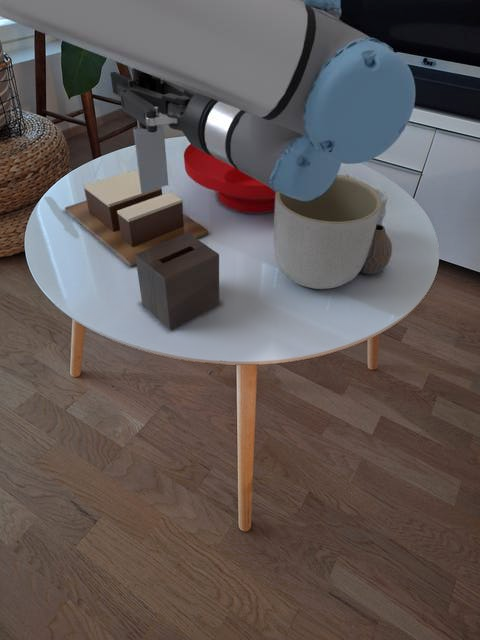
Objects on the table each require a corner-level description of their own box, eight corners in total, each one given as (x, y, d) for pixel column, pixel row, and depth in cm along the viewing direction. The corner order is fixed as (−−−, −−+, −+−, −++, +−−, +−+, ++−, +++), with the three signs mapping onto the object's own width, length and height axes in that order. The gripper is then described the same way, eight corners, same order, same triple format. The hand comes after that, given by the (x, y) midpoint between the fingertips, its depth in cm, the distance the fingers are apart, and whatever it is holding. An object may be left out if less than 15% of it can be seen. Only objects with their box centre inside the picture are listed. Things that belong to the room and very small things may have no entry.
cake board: (208, 234, 93) (207, 229, 93) (130, 267, 84) (130, 262, 84) (138, 187, 107) (137, 183, 107) (65, 211, 98) (64, 207, 98)
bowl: (316, 238, 93) (324, 192, 86) (170, 222, 96) (166, 177, 89) (320, 174, 116) (327, 133, 109) (202, 162, 119) (201, 122, 112)
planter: (309, 236, 94) (319, 164, 83) (381, 273, 85) (402, 197, 74) (250, 271, 85) (253, 194, 74) (324, 315, 76) (339, 236, 66)
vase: (363, 253, 90) (373, 212, 84) (394, 269, 86) (406, 228, 80) (341, 267, 86) (349, 226, 80) (372, 284, 83) (383, 242, 77)
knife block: (219, 303, 77) (219, 254, 71) (170, 330, 72) (165, 279, 66) (190, 281, 82) (187, 232, 75) (142, 304, 77) (134, 254, 70)
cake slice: (183, 226, 93) (182, 199, 89) (132, 247, 87) (128, 219, 83) (172, 218, 96) (170, 191, 91) (121, 238, 89) (116, 210, 85)
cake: (164, 213, 97) (161, 186, 93) (113, 232, 91) (108, 204, 87) (138, 195, 103) (135, 169, 99) (89, 212, 97) (83, 185, 92)
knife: (172, 187, 76) (162, 57, 63) (146, 196, 73) (130, 62, 60) (162, 181, 77) (151, 53, 64) (137, 189, 75) (119, 58, 62)
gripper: (173, 174, 54) (79, 117, 67) (271, 142, 62) (170, 97, 75) (168, 107, 49) (68, 59, 62) (276, 82, 57) (167, 44, 70)
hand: (124, 80), depth 68 cm, fingers closed on knife, 3 cm apart
